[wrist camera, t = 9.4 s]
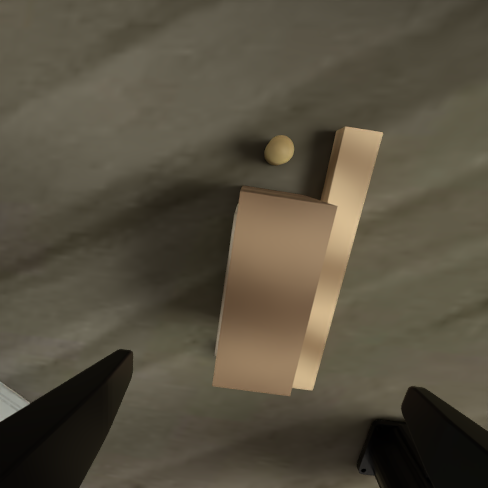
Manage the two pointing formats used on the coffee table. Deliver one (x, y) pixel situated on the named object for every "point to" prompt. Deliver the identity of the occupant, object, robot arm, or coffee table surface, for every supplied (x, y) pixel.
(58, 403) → the robot arm
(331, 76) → the coffee table surface
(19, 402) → the tea box
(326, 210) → the thick tan wooden block
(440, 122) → the coffee table surface
